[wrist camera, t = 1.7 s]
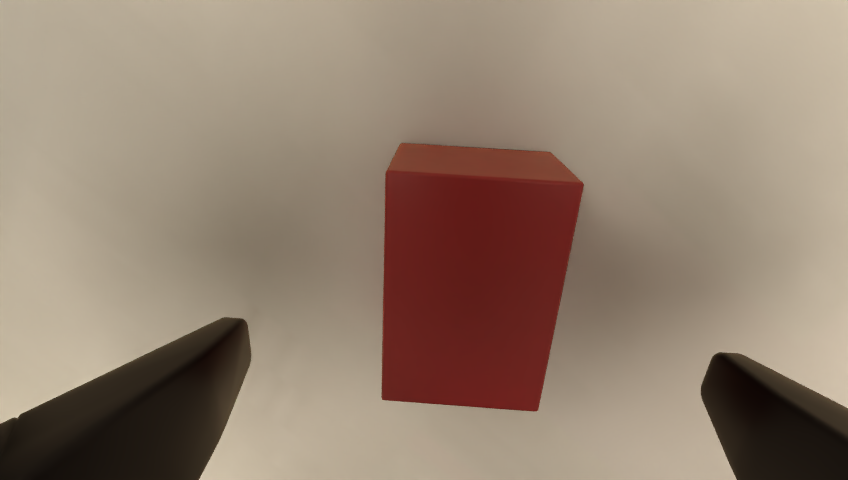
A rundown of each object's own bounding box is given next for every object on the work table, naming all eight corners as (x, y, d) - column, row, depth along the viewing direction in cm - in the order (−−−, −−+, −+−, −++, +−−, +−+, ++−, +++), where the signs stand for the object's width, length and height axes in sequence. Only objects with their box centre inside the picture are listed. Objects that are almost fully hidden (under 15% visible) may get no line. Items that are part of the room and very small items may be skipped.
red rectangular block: (519, 341, 14) (538, 412, 11) (394, 331, 14) (380, 400, 11) (552, 152, 11) (585, 183, 9) (399, 142, 12) (385, 170, 9)
